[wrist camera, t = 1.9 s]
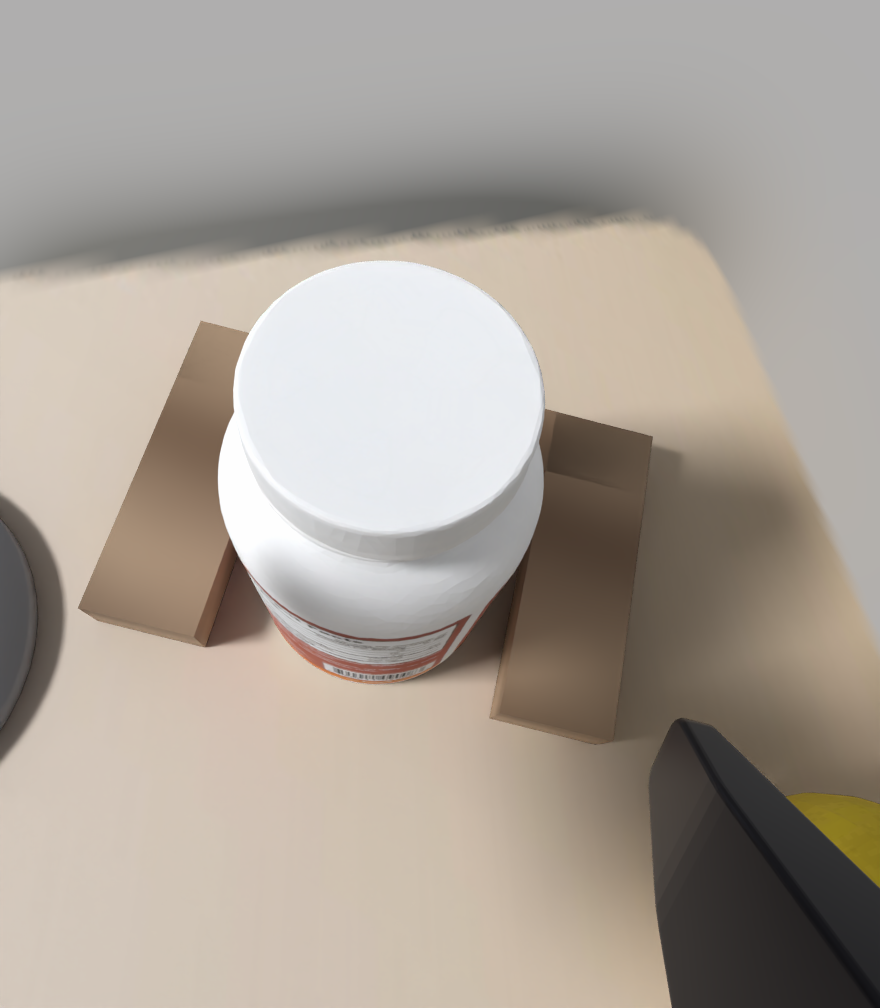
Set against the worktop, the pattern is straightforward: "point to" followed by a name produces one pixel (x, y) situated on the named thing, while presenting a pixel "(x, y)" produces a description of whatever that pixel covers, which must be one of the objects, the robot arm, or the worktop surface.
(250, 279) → the worktop surface
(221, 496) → the pill bottle
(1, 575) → the mat
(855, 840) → the lemon
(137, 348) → the worktop surface
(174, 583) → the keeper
